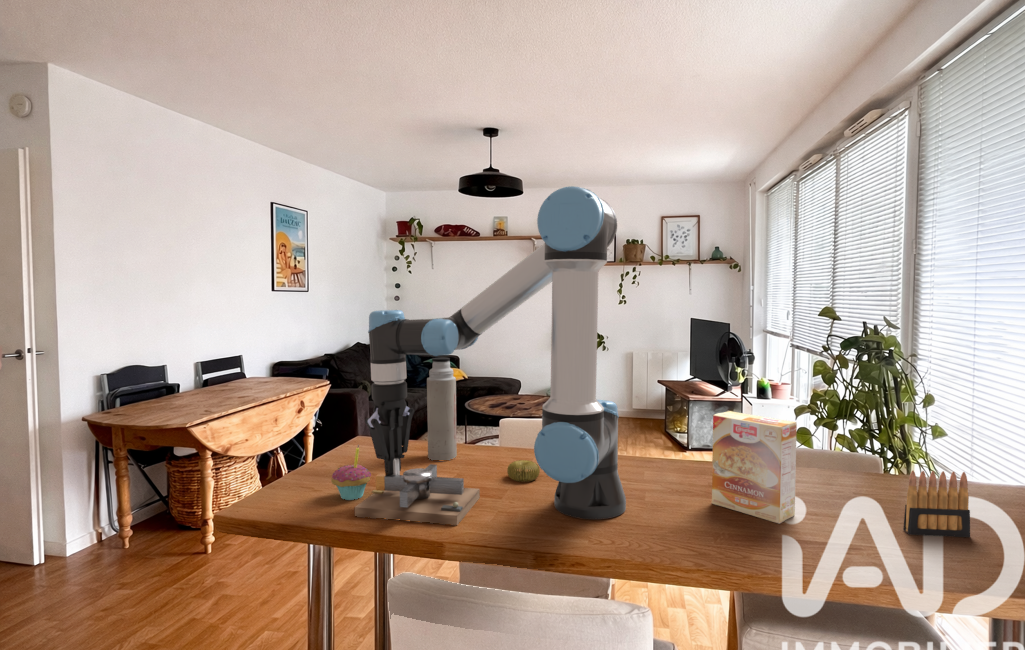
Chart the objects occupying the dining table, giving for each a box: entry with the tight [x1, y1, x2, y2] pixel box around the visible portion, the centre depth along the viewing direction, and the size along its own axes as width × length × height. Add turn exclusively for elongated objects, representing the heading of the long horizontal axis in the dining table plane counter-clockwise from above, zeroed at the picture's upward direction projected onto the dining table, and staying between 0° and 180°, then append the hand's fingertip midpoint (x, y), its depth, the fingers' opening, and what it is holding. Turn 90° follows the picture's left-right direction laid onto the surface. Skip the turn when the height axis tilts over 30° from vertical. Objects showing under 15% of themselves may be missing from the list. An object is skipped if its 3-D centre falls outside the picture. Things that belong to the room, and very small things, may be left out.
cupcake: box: [330, 444, 372, 501], centre depth 130 cm, size 9×8×12 cm
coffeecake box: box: [711, 410, 798, 525], centre depth 121 cm, size 15×7×20 cm, turn 40°
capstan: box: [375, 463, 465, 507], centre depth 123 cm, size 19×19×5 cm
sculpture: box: [507, 459, 541, 483], centre depth 143 cm, size 8×4×8 cm
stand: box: [354, 487, 481, 526], centre depth 124 cm, size 22×16×4 cm
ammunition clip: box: [902, 469, 971, 538], centre depth 108 cm, size 11×2×12 cm, turn 83°
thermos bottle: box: [426, 356, 458, 461], centre depth 161 cm, size 8×8×28 cm
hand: (393, 487), depth 127 cm, fingers closed
